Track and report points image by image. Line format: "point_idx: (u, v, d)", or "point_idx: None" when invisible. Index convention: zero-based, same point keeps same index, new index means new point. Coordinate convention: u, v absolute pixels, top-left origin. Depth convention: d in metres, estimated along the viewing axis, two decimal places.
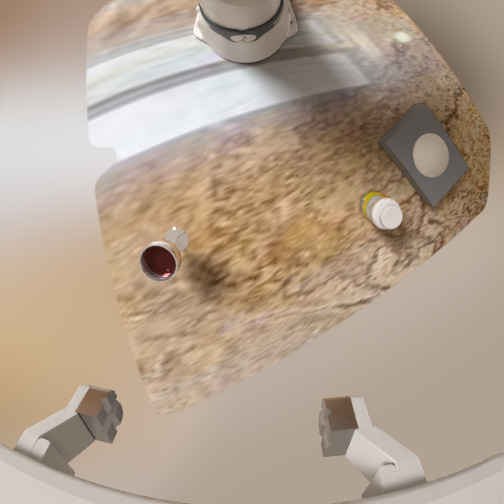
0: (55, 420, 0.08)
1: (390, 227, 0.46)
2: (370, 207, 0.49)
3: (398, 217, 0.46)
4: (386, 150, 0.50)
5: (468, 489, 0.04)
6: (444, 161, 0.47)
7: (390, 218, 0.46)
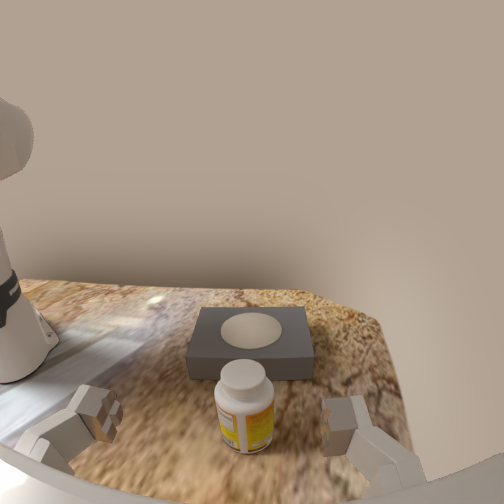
0: (55, 420, 0.08)
1: (254, 383, 0.24)
2: (217, 408, 0.25)
3: (252, 366, 0.26)
4: (204, 373, 0.37)
5: (468, 489, 0.04)
6: (271, 321, 0.43)
7: (241, 375, 0.25)
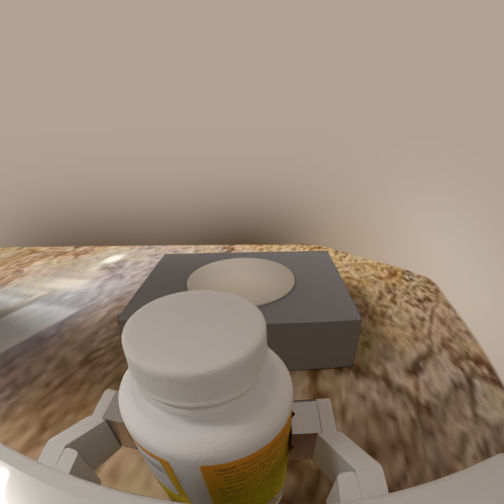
0: (81, 428, 0.08)
1: (225, 355, 0.07)
2: None
3: (223, 307, 0.09)
4: None
5: (468, 489, 0.04)
6: (276, 268, 0.25)
7: (183, 330, 0.08)
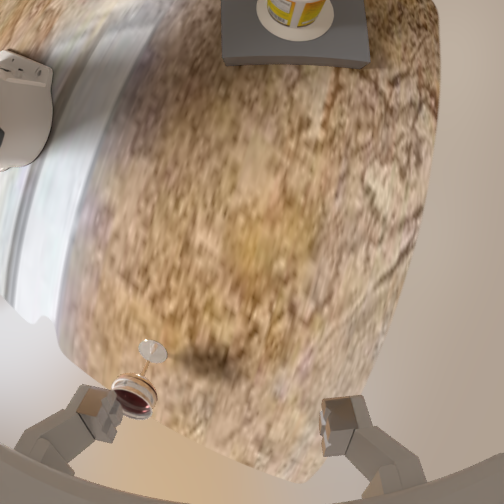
0: (55, 420, 0.08)
1: None
2: None
3: None
4: (243, 62, 0.30)
5: (468, 489, 0.04)
6: None
7: None
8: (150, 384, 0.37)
